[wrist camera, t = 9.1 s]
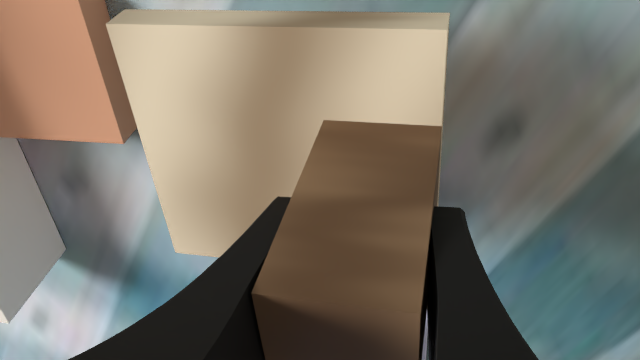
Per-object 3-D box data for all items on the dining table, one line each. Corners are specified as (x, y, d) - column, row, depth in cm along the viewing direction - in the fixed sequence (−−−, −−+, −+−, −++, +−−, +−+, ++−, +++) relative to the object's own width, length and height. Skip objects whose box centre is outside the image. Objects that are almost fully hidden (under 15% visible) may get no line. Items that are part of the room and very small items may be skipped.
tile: (144, 118, 25) (123, 143, 24) (22, 113, 26) (-5, 136, 25) (105, -21, 22) (77, -2, 20) (-34, -20, 23) (-70, -2, 21)
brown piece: (449, 12, 14) (425, 198, 8) (434, 258, 18) (413, 476, 13) (124, 9, 16) (-69, 158, 10) (187, 232, 20) (79, 414, 15)
